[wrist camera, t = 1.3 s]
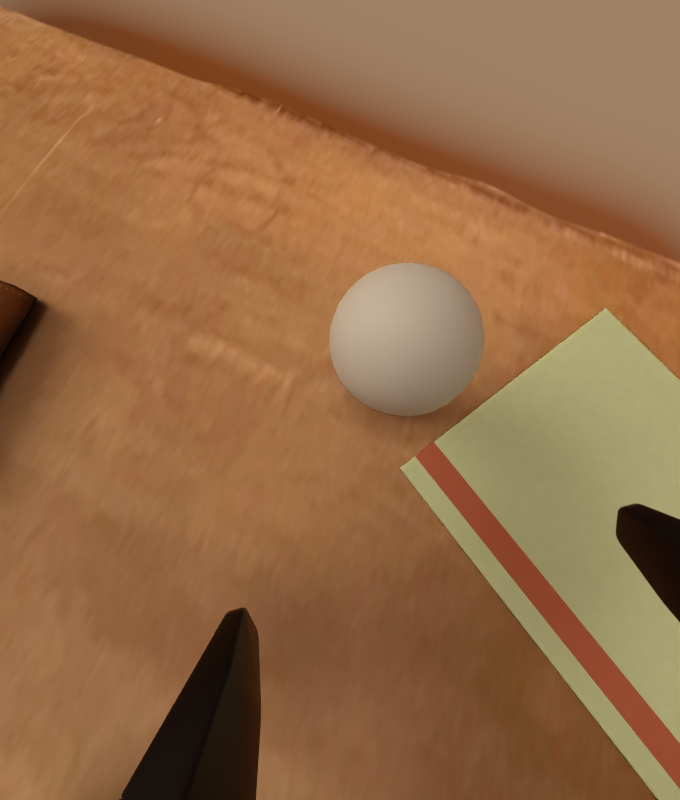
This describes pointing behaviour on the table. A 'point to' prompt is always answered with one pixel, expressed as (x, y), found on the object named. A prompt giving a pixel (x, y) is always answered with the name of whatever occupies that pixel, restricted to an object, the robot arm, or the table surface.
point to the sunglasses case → (12, 311)
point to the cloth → (577, 525)
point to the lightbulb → (406, 339)
